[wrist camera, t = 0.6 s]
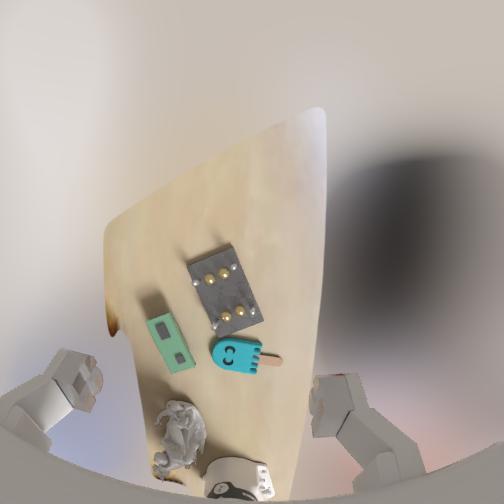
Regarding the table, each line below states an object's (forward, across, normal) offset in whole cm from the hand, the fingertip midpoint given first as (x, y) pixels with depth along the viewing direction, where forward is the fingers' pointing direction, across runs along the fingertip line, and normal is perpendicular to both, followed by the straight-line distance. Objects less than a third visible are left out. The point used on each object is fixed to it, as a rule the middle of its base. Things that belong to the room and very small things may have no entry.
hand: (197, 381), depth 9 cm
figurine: (+28, -14, -55) cm, 63 cm away
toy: (+37, +1, -37) cm, 52 cm away
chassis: (+42, -4, -24) cm, 48 cm away
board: (+34, -14, -32) cm, 50 cm away
